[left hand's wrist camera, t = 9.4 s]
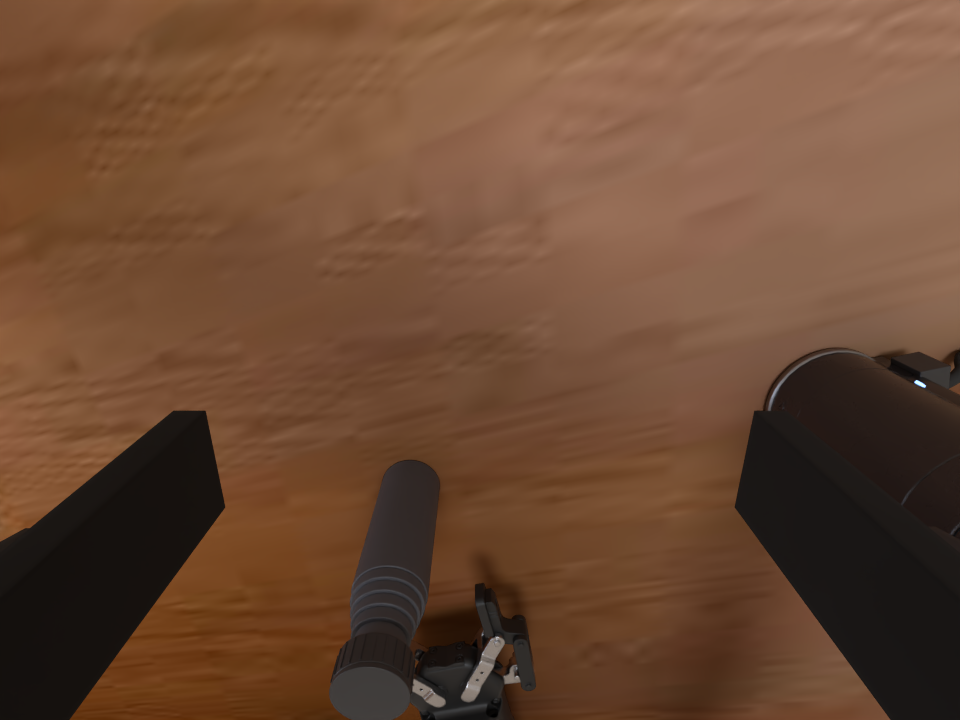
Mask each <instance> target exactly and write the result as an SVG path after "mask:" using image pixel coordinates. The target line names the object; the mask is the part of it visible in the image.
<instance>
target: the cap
mask: <svg viewBox="0 0 960 720" xmlns="http://www.w3.org/2000/svg"><path fill="white" fill-rule="evenodd" d="M414 673H415V659H414V655H413V652H412V651H411V649H410V648H409V647H408V645H407V644H406V643H404V642H403V641H402V640H400V639H398V638H397V637H394V636H392V635H389V634H385V633H376V632H375V633H374V632H372V633H365V634H360V635H358V636H355V637H353V638H352V639H350V640H349V641H347V642H346V643H345V644H344V646H343V647H342V648H341V649H340V652H339V655H338V656H337V660H336V664H335V667H334V671H333V674H332V678H331V682H330V683H331V686H330V691H329V695H330V700H331V702H332V704H333V706H334V707H335V708H336V709H337V711H339V712H340V713H341V714H342V715H344V716H345V717H347V718H349V719H352V720H392V719H395V718H396V717H398V716H400V715H401V714H402V713H403V712H404V711H405V710H406V709H407V707H408V705H409V703H410V697H411V695H412V690H413V681H414Z"/></svg>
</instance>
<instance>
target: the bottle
mask: <svg viewBox="0 0 960 720" xmlns="http://www.w3.org/2000/svg"><path fill="white" fill-rule="evenodd" d="M439 489H440V483H439V479H438V476H437V474H436V473H435V471H434V470H433V469H432V468H431V467H429V466H428V465H426V464H424V463H422V462H419V461H414V460H406V461H401V462H398V463H396V464H394V465H393V466H391V467H390V468H389V469H388V470H387V471H386V473H385V475H384V477H383V480H382V484H381V487H380V491H379V494H378V498H377V501H376V505H375V508H374V512H373V515H372V519H371V522H370V526H369V529H368V533H367V536H366V540H365V543H364V547H363V550H362V554H361V557H360V561H359V564H358V568H357V571H356V575H355V578H354V582H353V586H352V591H351V594H352V595H351V599H350V607H351V611H350V616H351V631H352V633H351V639H352V638H353V637H355V636H358V635H360V634H365V633H372V632H374V633H375V632H376V633H385V634H389V635H392V636H394V637H397V638H398V639H400V640H402V641H403V642H404V643H406V644H407V645H408V647H410V644H411V640H412V639H413V637H414V635H415V632H416V629H417V628H418V626H419V623H420V619H421V618H422V616H423V614H424V611H425V606H426V603H427V599H428V591H429V581H430V572H431V563H432V554H433V545H434V535H435V526H436V517H437V508H438V498H439Z"/></svg>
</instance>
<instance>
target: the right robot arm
mask: <svg viewBox="0 0 960 720" xmlns="http://www.w3.org/2000/svg"><path fill="white" fill-rule="evenodd" d="M954 366H955V368H954V369H953V370H952V371H951V372H950V370H951V366H950V365H947V364H945V363H943V362H941V361H938V360H936V359H934V358H932V357H930V356H927V355H925V354H923V353H921V352H916V353H911V354H906V355H901V356H897V357H892V358H891V360H889V359H887V358H885V357H883V356H880V357H876V358H871V357H869V356H867V355H865V354H863V353H861V352H858V351H855V350H852V349H845V348H832V349H826V350H821V351H818V352H815V353H812V354H810V355H807V356H805V357H803V358H802V359H800V360H798V361H797V362H795V363H794V364H792V365H791V366H790V367H789V368H788V369H786V370H785V371H784V372H783V373H782V374H781V376H780V377H779V378H778V379H777V381H776V382H775V384H774V385H773V387H772V389H771V391H770V393H769V395H768V398H767V401H766V406H765V411H787V412H789V413H790V414H791V415H792V416H793V417H795V418H796V419H797V420H798V421H800V422H801V423H802V424H803V425H804V426H806V427H807V428H808V429H809V430H811V431H812V432H813V433H814V434H815V435H817V436H818V437H819V438H820V439H822V440H823V441H824V442H825V443H826V444H828V445H829V446H830V447H831V448H833V449H834V450H835V451H836V452H837V453H839V454H840V455H841V456H842V457H844V458H845V459H846V460H847V461H848V462H850V463H851V464H852V465H853V466H855V467H856V468H857V469H858V470H859V471H861V472H862V473H863V474H864V475H866V476H867V477H868V478H869V479H870V480H872V481H873V482H874V483H875V484H877V485H878V486H879V487H880V488H881V489H883V490H884V491H885V492H886V493H888V494H889V495H890V496H891V497H892V498H894V499H895V500H896V501H897V502H899V503H900V504H901V505H902V506H903V507H905V508H906V509H907V510H908V511H910V512H911V513H912V514H913V515H914V516H916V517H917V518H918V519H919V520H921V521H922V522H923V523H924V524H925V525H927V526H928V527H937V528H939V529H941V530H943V531H945V532H947V533H948V534H950V535H952V536H954V537H956V538H958V539H960V395H959V394H957V393H955V392H953V391H951V390H949V388H951V387H953V386H955V385H956V384H958V383H960V352H958V353H957V354H956V355H955V358H954ZM475 603H476V607H477V611H478V614H479V617H480V620H481V624H482V627H483V628H479V630H478V631H477V633H476V635H475V636H474V638H473V640H472V641H471V643H470V644H465V642H464V641H462V642H456V643H453V644H451V645H448V646H434V647H429V649H427V648H426V647H424V646H422V645H421V644H419V643H417V642H415V641H414V640H411V644H410V647H409V648H410V649H411V651H412V652H413V655H414V659H416V660H417V661H419V662H418V664H417V666H416V668H415V673H414V681H413V690H412V695H411V697H410V703H411V704H413V705H414V706H415V707H417V708H418V710H419V712H420V715H421V719H422V720H514V717H513V716H512V714H511V711H510V708H509V704H508V701H507V698H506V695H505V691H504V685H505V684H511V683H519V682H521V687H522V689H523V690H525V691H531V690H533V689H535V687H536V683H535V674H534V665H533V657H532V652H531V646H530V641H529V635H528V630H527V624H526V619H525V617H524V616H522V615H515V616H514V617H513V618H512V619H507V618H504V617H503V616H502V615H501V612H500V608H499V605H498V602H497V598H496V595H495V592H494V591H493V590H492V589H491V588H489V589H486V587H485V584H484V583H479V584H475ZM504 644H513V647H514V652H513V657H511V658H510V659H509V664H508V665H507V666H505V667H503V666H502V664H501V663H500V662H498V661H497V660H495V659H496V657H497V655H498V654H499V652H500V651H501V649H502V648H503V646H504Z"/></svg>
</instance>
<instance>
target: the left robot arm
mask: <svg viewBox="0 0 960 720" xmlns="http://www.w3.org/2000/svg"><path fill="white" fill-rule="evenodd" d="M224 508H225V504H224V499H223V494H222V489H221V484H220V479H219V474H218V469H217V464H216V460H215V455H214V450H213V445H212V440H211V435H210V430H209V425H208V420H207V415H206V411H173V412H171V413H170V414H169V415H168V416H167V417H165V418H164V419H163V420H162V421H160V422H159V423H158V424H157V425H156V426H154V427H153V428H152V429H151V430H149V431H148V432H147V433H146V434H145V435H143V436H142V437H141V438H140V439H138V440H137V441H136V442H135V443H134V444H132V445H131V446H130V447H129V448H127V449H126V450H125V451H124V452H123V453H121V454H120V455H119V456H118V457H116V458H115V459H114V460H113V461H112V462H110V463H109V464H108V465H107V466H105V467H104V468H103V469H102V470H101V471H99V472H98V473H97V474H96V475H94V476H93V477H92V478H91V479H90V480H88V481H87V482H86V483H85V484H83V485H82V486H81V487H80V488H79V489H77V490H76V491H75V492H74V493H72V494H71V495H70V496H69V497H68V498H66V499H65V500H64V501H63V502H61V503H60V504H59V505H58V506H57V507H55V508H54V509H53V510H52V511H50V512H49V513H48V514H47V515H46V516H44V517H43V518H42V519H41V520H39V521H38V522H37V523H36V524H35V525H33V526H32V527H31V528H25V529H23V530H21V531H19V532H18V533H16V534H14V535H12V536H10V537H8V538H7V539H5V540H3V541H1V542H0V720H69V719H70V718H71V717H72V715H73V714H74V713H75V711H76V710H77V709H78V707H79V706H80V705H81V703H82V702H83V700H84V699H85V698H86V696H87V695H88V694H89V692H90V691H91V690H92V688H93V687H94V685H95V684H96V683H97V681H98V680H99V679H100V677H101V676H102V675H103V673H104V672H105V670H106V669H107V668H108V666H109V665H110V664H111V662H112V661H113V660H114V658H115V657H116V655H117V654H118V653H119V651H120V650H121V649H122V647H123V646H124V645H125V643H126V642H127V640H128V639H129V638H130V636H131V635H132V634H133V632H134V631H135V630H136V628H137V627H138V625H139V624H140V623H141V621H142V620H143V619H144V617H145V616H146V615H147V613H148V612H149V610H150V609H151V608H152V606H153V605H154V604H155V602H156V601H157V600H158V598H159V597H160V595H161V594H162V593H163V591H164V590H165V589H166V587H167V586H168V585H169V583H170V582H171V580H172V579H173V578H174V576H175V575H176V574H177V572H178V571H179V570H180V568H181V567H182V566H183V564H184V563H185V561H186V560H187V559H188V557H189V556H190V555H191V553H192V552H193V551H194V549H195V548H196V546H197V545H198V544H199V542H200V541H201V540H202V538H203V537H204V536H205V534H206V533H207V531H208V530H209V529H210V527H211V526H212V525H213V523H214V522H215V521H216V519H217V518H218V516H219V515H220V514H221V512H222V511H223V510H224ZM735 508H736V510H737V511H738V512H739V514H740V515H741V516H742V518H743V519H744V521H745V522H746V523H747V525H748V526H749V527H750V529H751V530H752V531H753V533H754V534H755V536H756V537H757V538H758V540H759V541H760V542H761V544H762V545H763V546H764V548H765V549H766V551H767V552H768V553H769V555H770V556H771V557H772V559H773V560H774V561H775V563H776V564H777V566H778V567H779V568H780V570H781V571H782V572H783V574H784V575H785V576H786V578H787V579H788V581H789V582H790V583H791V585H792V586H793V587H794V589H795V590H796V591H797V593H798V594H799V595H800V597H801V598H802V600H803V601H804V602H805V604H806V605H807V606H808V608H809V609H810V610H811V612H812V613H813V615H814V616H815V617H816V619H817V620H818V621H819V623H820V624H821V625H822V627H823V628H824V630H825V631H826V632H827V634H828V635H829V636H830V638H831V639H832V640H833V642H834V643H835V645H836V646H837V647H838V649H839V650H840V651H841V653H842V654H843V655H844V657H845V658H846V660H847V661H848V662H849V664H850V665H851V666H852V668H853V669H854V670H855V672H856V673H857V675H858V676H859V677H860V679H861V680H862V681H863V683H864V684H865V685H866V687H867V688H868V690H869V691H870V692H871V694H872V695H873V696H874V698H875V699H876V700H877V702H878V703H879V705H880V706H881V707H882V709H883V710H884V711H885V713H886V714H887V715H888V717H889V718H890V719H891V720H960V539H958V538H956V537H954V536H952V535H950V534H948V533H947V532H945V531H943V530H941V529H939V528H937V527H928V526H927V525H925V524H924V523H923V522H922V521H921V520H919V519H918V518H917V517H916V516H914V515H913V514H912V513H911V512H910V511H908V510H907V509H906V508H905V507H903V506H902V505H901V504H900V503H899V502H897V501H896V500H895V499H894V498H892V497H891V496H890V495H889V494H888V493H886V492H885V491H884V490H883V489H881V488H880V487H879V486H878V485H877V484H875V483H874V482H873V481H872V480H870V479H869V478H868V477H867V476H866V475H864V474H863V473H862V472H861V471H859V470H858V469H857V468H856V467H855V466H853V465H852V464H851V463H850V462H848V461H847V460H846V459H845V458H844V457H842V456H841V455H840V454H839V453H837V452H836V451H835V450H834V449H833V448H831V447H830V446H829V445H828V444H826V443H825V442H824V441H823V440H822V439H820V438H819V437H818V436H817V435H815V434H814V433H813V432H812V431H811V430H809V429H808V428H807V427H806V426H804V425H803V424H802V423H801V422H800V421H798V420H797V419H796V418H795V417H793V416H792V415H791V414H790V413H789V412H787V411H754V415H753V420H752V425H751V430H750V435H749V440H748V445H747V450H746V455H745V460H744V464H743V469H742V474H741V479H740V484H739V489H738V494H737V499H736V504H735Z"/></svg>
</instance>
